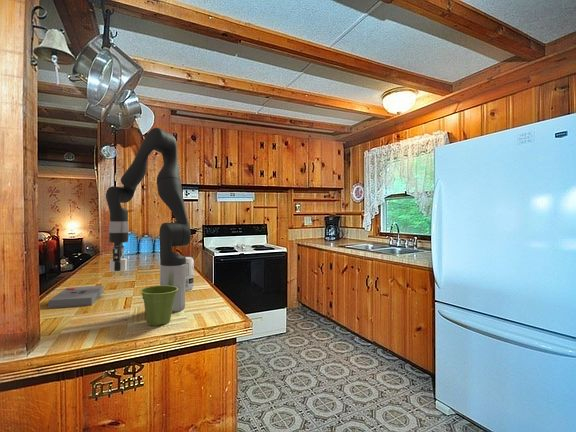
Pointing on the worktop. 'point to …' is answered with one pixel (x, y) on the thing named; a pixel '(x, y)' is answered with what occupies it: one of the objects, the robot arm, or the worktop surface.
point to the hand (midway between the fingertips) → (118, 269)
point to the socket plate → (76, 296)
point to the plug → (122, 266)
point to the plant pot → (158, 303)
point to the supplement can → (189, 273)
